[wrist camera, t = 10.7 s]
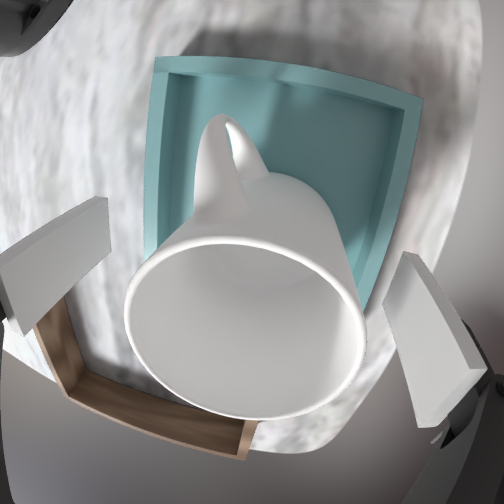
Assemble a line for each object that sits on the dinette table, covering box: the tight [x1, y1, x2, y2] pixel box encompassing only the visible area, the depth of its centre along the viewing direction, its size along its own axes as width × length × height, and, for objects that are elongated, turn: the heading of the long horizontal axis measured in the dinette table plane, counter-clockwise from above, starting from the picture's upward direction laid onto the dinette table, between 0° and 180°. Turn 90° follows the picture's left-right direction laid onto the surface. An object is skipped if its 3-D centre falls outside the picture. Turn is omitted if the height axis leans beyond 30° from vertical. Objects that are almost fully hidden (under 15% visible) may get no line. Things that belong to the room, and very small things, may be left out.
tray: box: [143, 56, 423, 311], centre depth 18 cm, size 18×15×3 cm
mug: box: [124, 114, 367, 420], centre depth 14 cm, size 9×12×11 cm
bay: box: [33, 296, 259, 460], centre depth 25 cm, size 15×23×5 cm, turn 82°
